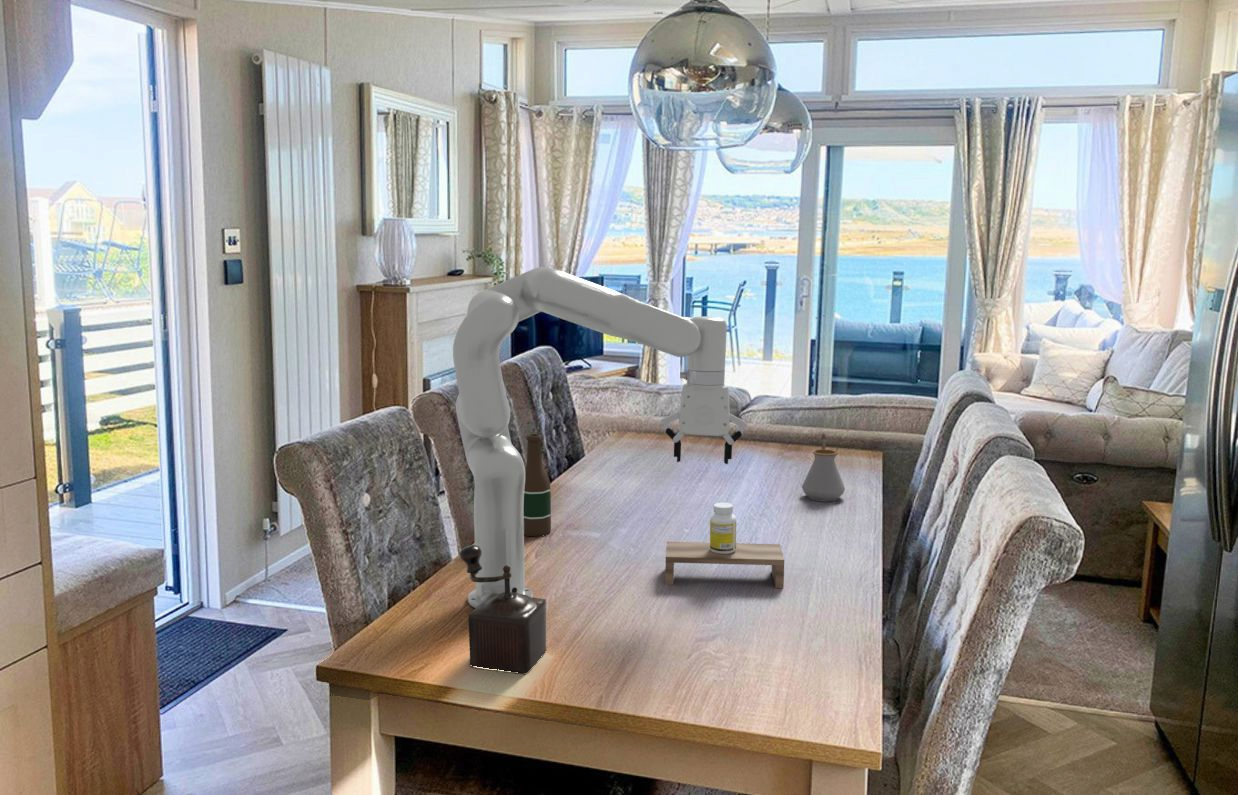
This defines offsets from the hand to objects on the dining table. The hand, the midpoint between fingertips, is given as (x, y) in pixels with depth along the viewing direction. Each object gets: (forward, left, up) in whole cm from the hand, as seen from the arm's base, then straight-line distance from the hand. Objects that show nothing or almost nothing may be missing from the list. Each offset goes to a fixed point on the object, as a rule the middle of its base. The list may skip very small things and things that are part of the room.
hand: (702, 461), depth 199 cm
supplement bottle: (+1, -5, -19) cm, 20 cm away
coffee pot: (+71, -35, -26) cm, 83 cm away
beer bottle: (+29, +39, -25) cm, 55 cm away
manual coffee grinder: (-40, +35, -26) cm, 59 cm away
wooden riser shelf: (+1, -5, -25) cm, 26 cm away
